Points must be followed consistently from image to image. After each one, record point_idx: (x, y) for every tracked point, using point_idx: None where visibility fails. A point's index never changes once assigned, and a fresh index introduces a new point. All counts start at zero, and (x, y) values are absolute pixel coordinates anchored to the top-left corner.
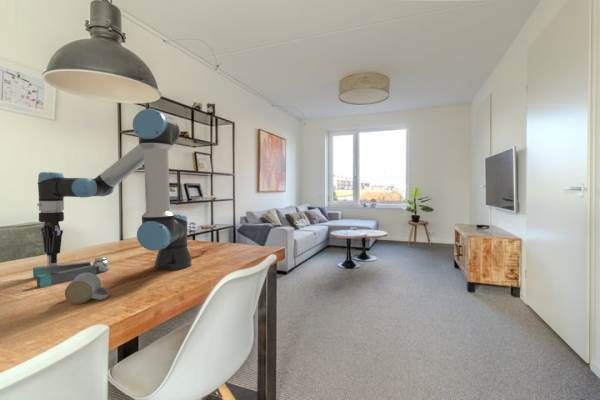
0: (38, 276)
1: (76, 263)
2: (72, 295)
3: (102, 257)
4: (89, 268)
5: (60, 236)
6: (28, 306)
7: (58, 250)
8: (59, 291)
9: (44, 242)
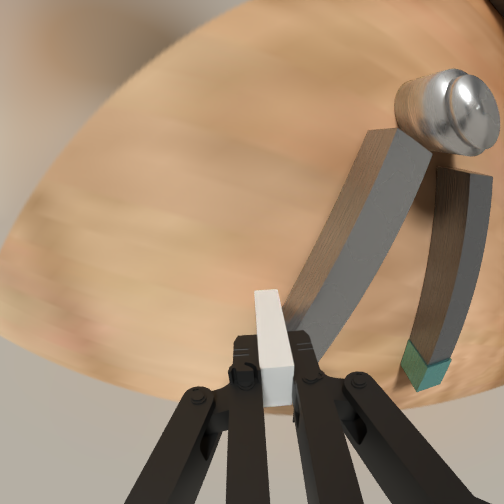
0: (429, 387)
1: (380, 221)
2: None
3: (469, 89)
4: (485, 209)
5: (466, 496)
6: (491, 371)
7: (379, 399)
8: (489, 324)
9: (196, 494)
